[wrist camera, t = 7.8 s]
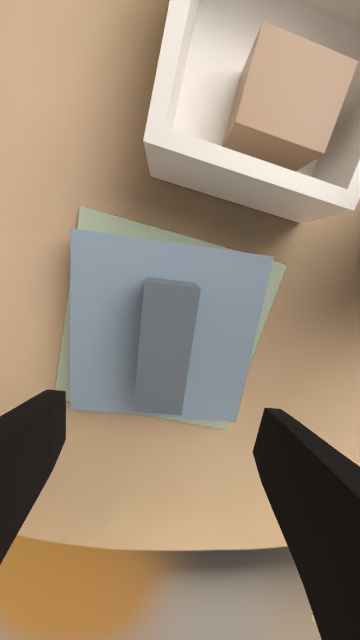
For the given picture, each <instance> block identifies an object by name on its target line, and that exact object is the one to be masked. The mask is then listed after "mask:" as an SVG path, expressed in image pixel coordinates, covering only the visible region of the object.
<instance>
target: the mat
mask: <svg viewBox="0 0 360 640" xmlns="http://www.w3.org/2000/svg"><path fill="white" fill-rule="evenodd" d="M77 229H80V230H87V231H94V232H102V233H109V234H116V235H123V236H130V237H138V238H145V239H152V240H159V241H167V242H174V243H181V244H188V245H195V246H203V247H210V248H217V249H224V250H232V251H237V250H234V249H230V248H227V247H223V246H220V245H216V244H213V243H209V242H206V241H202V240H199V239H195V238H192V237H188V236H185V235H181V234H178V233H174V232H171V231H167V230H164V229H160V228H157V227H153V226H150V225H146V224H143V223H139V222H136V221H132V220H129V219H125V218H122V217H118V216H115V215H111V214H108V213H104V212H101V211H97V210H94V209H90V208H87V207H83V206H80V211H79V218H78V226H77ZM239 252H241V251H239ZM286 267H287V265H286V264H283V263H279V262H276V261H273V263H272V267H271V272H270V276H269V280H268V285H267V289H266V293H265V298H264V302H263V306H262V311H261V315H260V319H259V324H258V328H257V333H256V337H255V341H254V346H253V350H252V354H251V359H250V363H251V360H252V358H253V355H254V352H255V350H256V347H257V344H258V342H259V339H260V336H261V334H262V331H263V328H264V326H265V323H266V320H267V318H268V315H269V312H270V310H271V307H272V304H273V302H274V299H275V296H276V294H277V291H278V288H279V286H280V283H281V280H282V278H283V275H284V272H285V270H286ZM250 363H249V366H250ZM248 369H249V367H248ZM55 390H60V391H66V401H68V402H70V284H69V291H68V298H67V306H66V313H65V320H64V328H63V335H62V342H61V349H60V357H59V364H58V371H57V379H56V386H55ZM145 416H149V415H145ZM151 417H156V418H162V419H167V420H173V421H178V422H184V423H189V424H195V425H200V426H206V427H211V428H217V429H222V430H226V427H227V425H228V422H229V421H220V420H205V419H191V418H177V417H163V416H151Z"/></svg>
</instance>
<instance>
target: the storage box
mask: <svg viewBox="0 0 360 640" xmlns="http://www.w3.org/2000/svg"><path fill="white" fill-rule="evenodd" d="M143 143H144V148H145V152H146V157H147V162H148V167H149V172H150V177H154V178H157V179H160V180H163V181H166V182H170V183H173V184H176V185H179V186H182V187H186V188H189V189H192V190H195V191H198V192H202V193H205V194H208V195H211V196H214V197H218V198H221V199H224V200H227V201H230V202H234V203H237V204H240V205H243V206H246V207H250V208H253V209H256V210H259V211H262V212H266V213H269V214H272V215H275V216H278V217H282V218H285V219H288V220H291V221H294V222H298V223H303V222H308V221H312V220H316V219H321V218H325V217H330V216H334V215H338V214H343V213H347V212H351V211H354V210H355V208H356V205H357V203H358V201H359V198H360V0H170V2H169V8H168V13H167V18H166V23H165V29H164V34H163V39H162V44H161V50H160V55H159V60H158V65H157V71H156V76H155V81H154V87H153V92H152V97H151V102H150V108H149V113H148V118H147V123H146V129H145V134H144V139H143Z"/></svg>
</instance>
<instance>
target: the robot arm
mask: <svg viewBox="0 0 360 640" xmlns="http://www.w3.org/2000/svg"><path fill="white" fill-rule="evenodd" d="M65 440H66V391H60V390H46V391H44V392H42V393H40V394H38V395H36V396H35V397H33V398H31V399H29V400H28V401H26V402H24V403H23V404H21V405H19V406H17V407H16V408H14V409H12V410H11V411H9V412H7V413H5V414H4V415H2V416H0V564H1V562H2V560H3V558H4V557H5V555H6V553H7V551H8V550H9V548H10V546H11V544H12V542H13V541H14V539H15V537H16V535H17V534H18V532H19V530H20V528H21V526H22V525H23V523H24V521H25V519H26V517H27V516H28V514H29V512H30V510H31V509H32V507H33V505H34V503H35V501H36V500H37V498H38V496H39V494H40V492H41V491H42V489H43V487H44V485H45V483H46V482H47V480H48V478H49V476H50V474H51V472H52V470H53V468H54V466H55V464H56V461H57V459H58V457H59V454H60V452H61V450H62V447H63V445H64V442H65ZM253 455H254V458H255V462H256V466H257V469H258V472H259V476H260V479H261V482H262V485H263V487H264V490H265V492H266V495H267V497H268V500H269V502H270V504H271V507H272V509H273V512H274V514H275V516H276V519H277V521H278V524H279V526H280V528H281V531H282V533H283V536H284V538H285V540H286V543H287V545H288V547H289V550H290V552H291V555H292V557H293V559H294V562H295V564H296V567H297V569H298V572H299V575H300V577H301V580H302V583H303V585H304V588H305V591H306V594H307V597H308V600H309V603H310V605H311V609H312V611H313V615H314V618H315V621H316V624H317V626H318V630H319V633H320V636H321V639H322V640H360V467H359V466H358V465H357V464H355V463H354V462H352V461H351V460H350V459H348V458H347V457H345V456H344V455H343V454H341V453H340V452H339V451H337V450H336V449H335V448H333V447H332V446H331V445H329V444H328V443H327V442H325V441H324V440H323V439H321V438H320V437H319V436H317V435H316V434H315V433H313V432H312V431H311V430H309V429H308V428H307V427H305V426H304V425H303V424H301V423H300V422H298V421H297V420H296V419H294V418H293V417H292V416H290V415H289V414H287V413H286V412H284V411H283V410H281V409H274V408H265V409H264V412H263V416H262V420H261V423H260V427H259V431H258V434H257V438H256V442H255V445H254V449H253Z"/></svg>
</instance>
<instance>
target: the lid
mask: <svg viewBox="0 0 360 640" xmlns="http://www.w3.org/2000/svg"><path fill="white" fill-rule="evenodd" d="M273 259H274V256H268V255H260V254H253V253H246V252H239V251H232V250H224V249H217V248H210V247H203V246H195V245H188V244H181V243H174V242H167V241H159V240H152V239H145V238H138V237H130V236H123V235H116V234H109V233H102V232H94V231H87V230H80V229H73V228H70V410H77V411H92V412H106V413H120V414H134V415H149V416H163V417H177V418H191V419H205V420H220V421H234V422H236V420H237V415H238V411H239V407H240V402H241V398H242V394H243V389H244V385H245V380H246V376H247V372H248V367H249V363H250V359H251V354H252V350H253V346H254V341H255V337H256V333H257V328H258V324H259V319H260V315H261V311H262V306H263V302H264V298H265V293H266V289H267V285H268V280H269V276H270V272H271V267H272V263H273Z"/></svg>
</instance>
